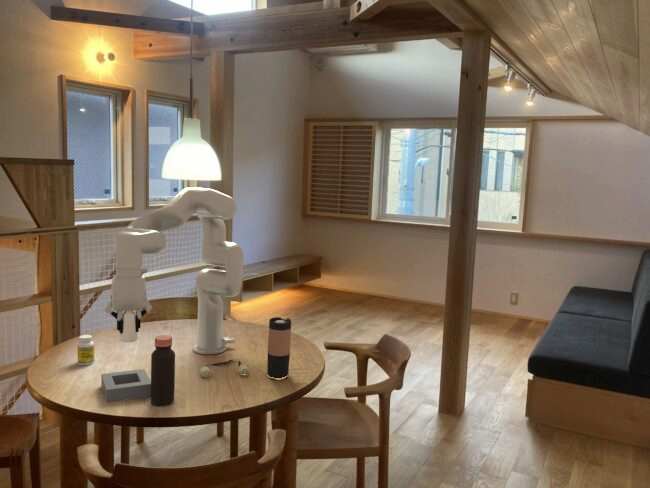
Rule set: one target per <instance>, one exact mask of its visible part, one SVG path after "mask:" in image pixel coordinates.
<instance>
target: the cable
mask: <svg viewBox="0 0 650 488" xmlns="http://www.w3.org/2000/svg"><path fill="white" fill-rule="evenodd" d="M233 360H234V359H229V360H227V361H223V362H216V363H211V364H207V365H203V366H201V368H200V369H199V373H200V375H201V377H202V378H203V377H205V378H210V377H211V376H212V373H211V369H210V368H209V366H208V365H212V366H221V365H226V364H229V362H230V363H232V362H231V361H233ZM237 360H238V361H239V362H238V367H239V365H240V364H241V366H240V367H239V368H238V371H239V374H242V375H243V374H248V375H250V370H249V367H248V366H247V364H242V363H241V362H242V361H240V360H239V359H237ZM233 362H234V361H233ZM207 366H208V367H207ZM208 376H209V377H208ZM243 376H244V375H243Z"/></svg>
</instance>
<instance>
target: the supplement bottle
mask: <svg viewBox="0 0 650 488" xmlns="http://www.w3.org/2000/svg"><path fill="white" fill-rule="evenodd" d="M78 340H79V342H78V343H77V364H78V365H80V366H90V365H92V364H94V363H95V342H94V341H93V336H92V335H91V334H82V335H79V339H78Z"/></svg>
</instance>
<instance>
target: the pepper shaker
mask: <svg viewBox="0 0 650 488" xmlns="http://www.w3.org/2000/svg"><path fill="white" fill-rule="evenodd" d="M121 318H122V320H123V333H121V334H120V333H119V341H120V342H122V343H135V342H136V341H137V340H138V339H139V336H138V335H139V334H138V332H136V312H135V311H134V310H127V311H123V313H122V317H121Z"/></svg>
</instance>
